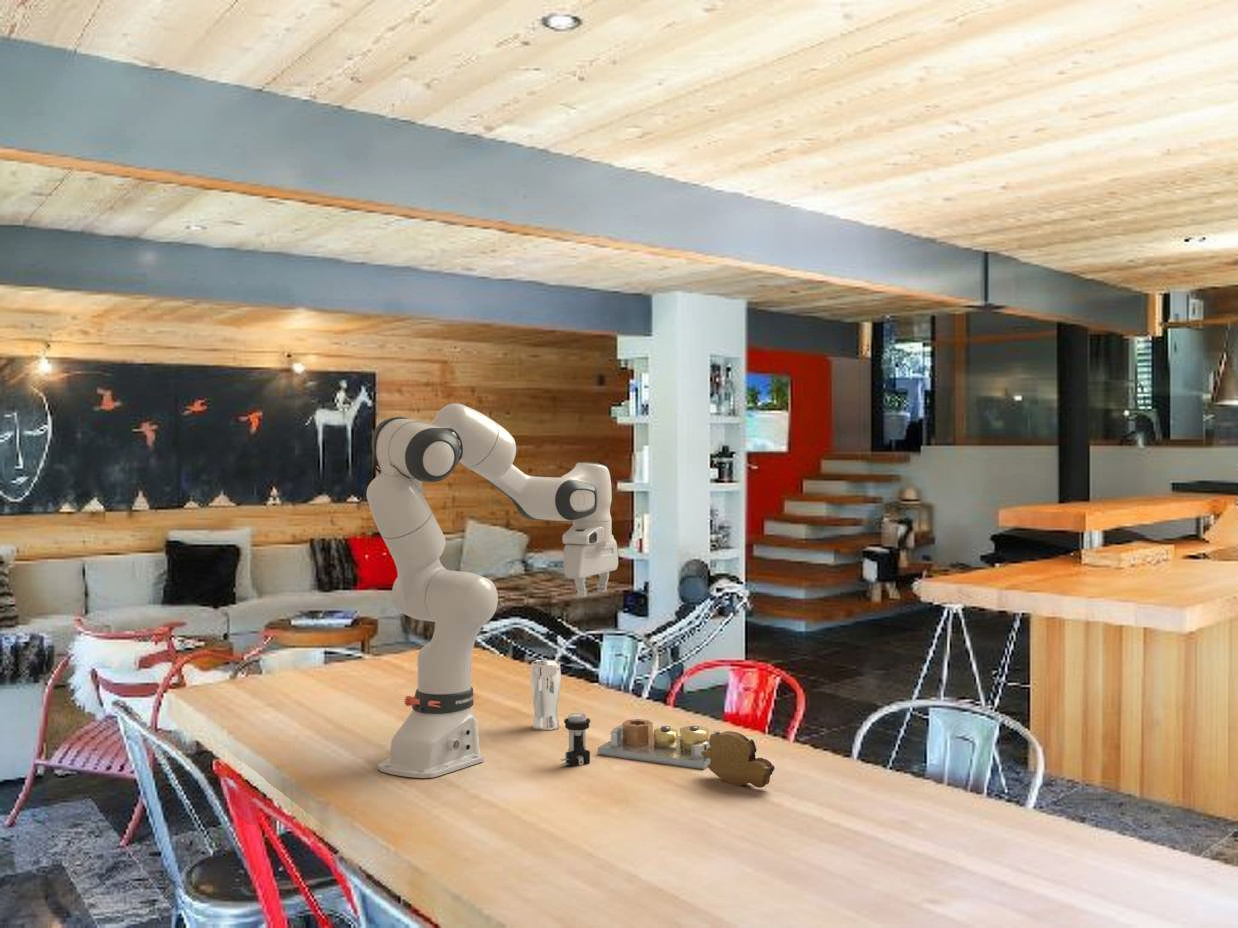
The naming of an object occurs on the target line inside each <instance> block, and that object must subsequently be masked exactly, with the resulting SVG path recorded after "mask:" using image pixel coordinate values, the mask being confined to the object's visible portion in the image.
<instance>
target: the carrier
mask: <svg viewBox="0 0 1238 928" xmlns="http://www.w3.org/2000/svg"><path fill="white" fill-rule="evenodd" d="M717 732H719V733H721V731H720V730H713V734H715V733H717ZM709 734H710V732H709V728H707V727H704V726H697V725H687V726H683V727H680V728H679V735H678V729H676V728H672V727H671V726H670V725H663V726H660V727H659V728H655V729H653V742H651V743H650V744H648V745H638V746H637V745H629V744H626V743H624V742H623V724H620V725H618V726H616V727H613V729H611V731H610V740H609V741H607V742H605V743H604V744H602V745H600V746H597V755H599V756H606V757H614V758H619V759H620V758H621V759H627V760H634V761H641V762H649V763H656V764H663V765H671V766H676V767H685V768H690V769H697V770H706V769H707V768H708V765H709V764H710V758H707V757H704V756H703V755H702V753H701V752H702V751H704V750H706V749H708V748H710V744H709V738H710V736H709Z"/></svg>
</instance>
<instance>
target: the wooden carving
mask: <svg viewBox="0 0 1238 928" xmlns="http://www.w3.org/2000/svg"><path fill="white" fill-rule="evenodd" d="M709 744H710V748H708V749H706V750H704V751H702V752H701V753H702V755H703V756H704V757H707V758H710V764H709V765H708V767H707V768H708V769H709V770H710V771H711V772H712V773H713V774H714V775H715V776H717V777H718V778H720V779H721V780H722V781H724V782H726V783H727V784H729V785H734V786H745V785H747V784H750V785H752V786H753V787H755V788H759V789H761V788H763V787H766V785H768V784H770V782H771V780H770V779H771V776H772V775H773V773H774V771H775V765H774V764H772V762H771V761H769V760H768V759H767V758H763V757H756V753H757V746H756V743H755V741H754V739H752V738H751V739H749V738H747V736H746V735H744V734H743V733H742V734H741V733H740V732H737V731H730V730H728V731H723V732H720V733H719V732H717V733H715V734H714V733H711V734H710V736H709Z"/></svg>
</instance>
